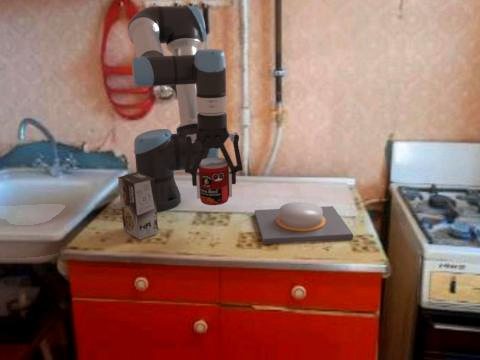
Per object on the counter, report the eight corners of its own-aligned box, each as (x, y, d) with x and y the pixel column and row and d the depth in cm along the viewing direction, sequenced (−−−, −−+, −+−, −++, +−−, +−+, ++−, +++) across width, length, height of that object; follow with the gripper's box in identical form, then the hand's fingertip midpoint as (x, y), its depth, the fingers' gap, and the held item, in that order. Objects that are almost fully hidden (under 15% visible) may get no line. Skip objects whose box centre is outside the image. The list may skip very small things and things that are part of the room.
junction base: (254, 214, 145) (254, 199, 144) (332, 210, 147) (333, 195, 146) (263, 244, 126) (263, 226, 125) (352, 239, 128) (353, 221, 127)
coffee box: (159, 233, 134) (155, 178, 129) (139, 240, 130) (133, 183, 125) (142, 223, 141) (137, 171, 135) (122, 230, 137) (117, 176, 131)
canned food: (194, 203, 129) (192, 163, 125) (210, 193, 136) (208, 155, 132) (219, 207, 125) (218, 167, 122) (234, 197, 132) (233, 159, 128)
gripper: (170, 117, 118) (175, 202, 126) (254, 114, 120) (254, 199, 127) (171, 110, 125) (176, 192, 133) (250, 108, 127) (251, 189, 134)
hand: (214, 195), depth 130 cm, fingers closed on canned food, 8 cm apart
